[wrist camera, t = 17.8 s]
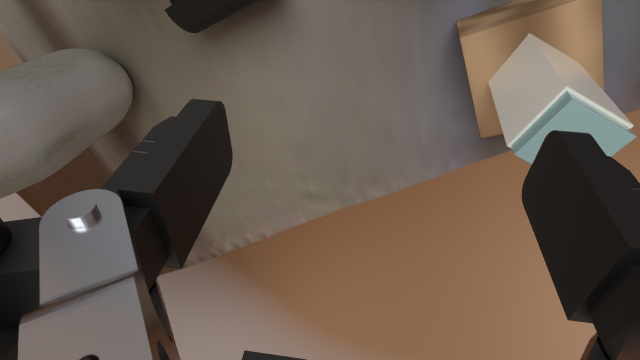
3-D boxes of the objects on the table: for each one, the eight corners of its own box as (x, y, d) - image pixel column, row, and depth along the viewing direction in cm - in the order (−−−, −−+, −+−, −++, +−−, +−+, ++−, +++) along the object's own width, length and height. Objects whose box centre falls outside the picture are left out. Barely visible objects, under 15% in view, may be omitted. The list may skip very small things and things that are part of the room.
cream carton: (533, 108, 34) (572, 190, 24) (488, 82, 33) (509, 155, 24) (578, 62, 31) (642, 135, 21) (529, 32, 30) (572, 94, 21)
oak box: (474, 111, 41) (480, 138, 37) (455, 20, 37) (459, 38, 32) (582, 84, 37) (604, 111, 33) (576, -21, 33) (601, -8, 28)
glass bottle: (95, 111, 53) (-140, 258, 31) (62, 35, 47) (-255, 152, 25) (157, 114, 51) (-47, 276, 29) (131, 36, 45) (-150, 165, 23)
